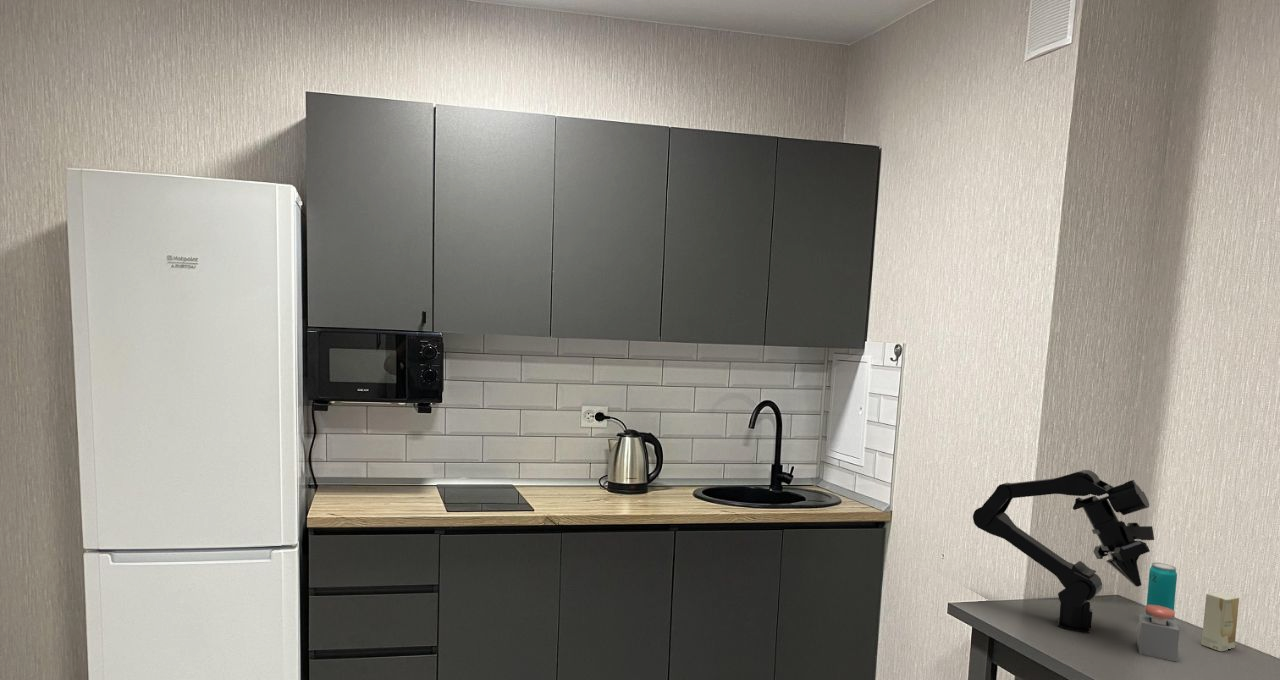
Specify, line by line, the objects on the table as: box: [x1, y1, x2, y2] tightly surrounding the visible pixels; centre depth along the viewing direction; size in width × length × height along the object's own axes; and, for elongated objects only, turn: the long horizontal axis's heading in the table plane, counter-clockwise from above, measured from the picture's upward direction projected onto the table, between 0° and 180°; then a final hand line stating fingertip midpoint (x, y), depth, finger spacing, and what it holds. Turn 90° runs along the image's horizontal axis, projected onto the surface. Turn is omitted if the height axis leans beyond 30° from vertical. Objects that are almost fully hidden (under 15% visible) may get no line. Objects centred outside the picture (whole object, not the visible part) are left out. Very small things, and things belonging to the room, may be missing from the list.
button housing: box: [1136, 613, 1180, 663], centre depth 181 cm, size 7×7×7 cm
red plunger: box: [1144, 604, 1176, 625], centre depth 181 cm, size 6×6×8 cm
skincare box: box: [1200, 591, 1240, 652], centre depth 187 cm, size 6×4×12 cm
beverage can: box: [1145, 562, 1178, 620], centre depth 199 cm, size 6×6×15 cm
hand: (1138, 586), depth 185 cm, fingers closed
